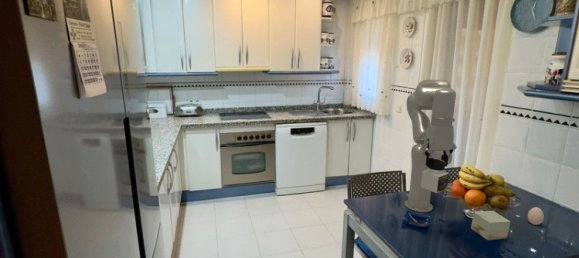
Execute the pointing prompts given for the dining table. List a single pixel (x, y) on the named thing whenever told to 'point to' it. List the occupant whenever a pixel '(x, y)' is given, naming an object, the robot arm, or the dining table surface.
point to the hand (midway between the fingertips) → (436, 165)
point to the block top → (491, 221)
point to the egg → (535, 216)
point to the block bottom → (487, 234)
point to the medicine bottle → (435, 177)
